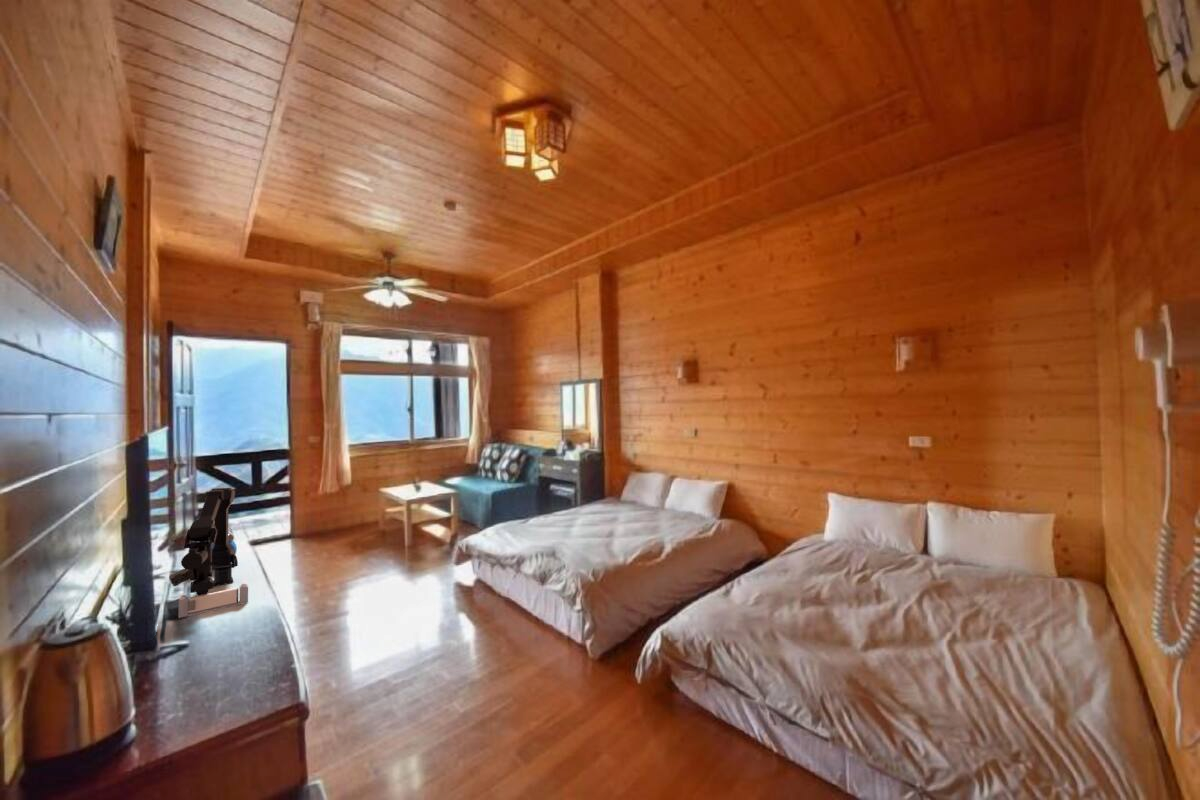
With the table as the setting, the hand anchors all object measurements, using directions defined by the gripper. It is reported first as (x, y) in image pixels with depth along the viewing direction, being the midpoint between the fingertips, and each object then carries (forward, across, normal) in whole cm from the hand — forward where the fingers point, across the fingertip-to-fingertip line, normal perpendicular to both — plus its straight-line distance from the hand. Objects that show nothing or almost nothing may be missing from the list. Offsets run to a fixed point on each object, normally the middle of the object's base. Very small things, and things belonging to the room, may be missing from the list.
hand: (201, 602), depth 170 cm
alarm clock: (+4, -47, +6) cm, 48 cm away
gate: (+2, +3, +4) cm, 5 cm away
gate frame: (+2, +3, +4) cm, 5 cm away
